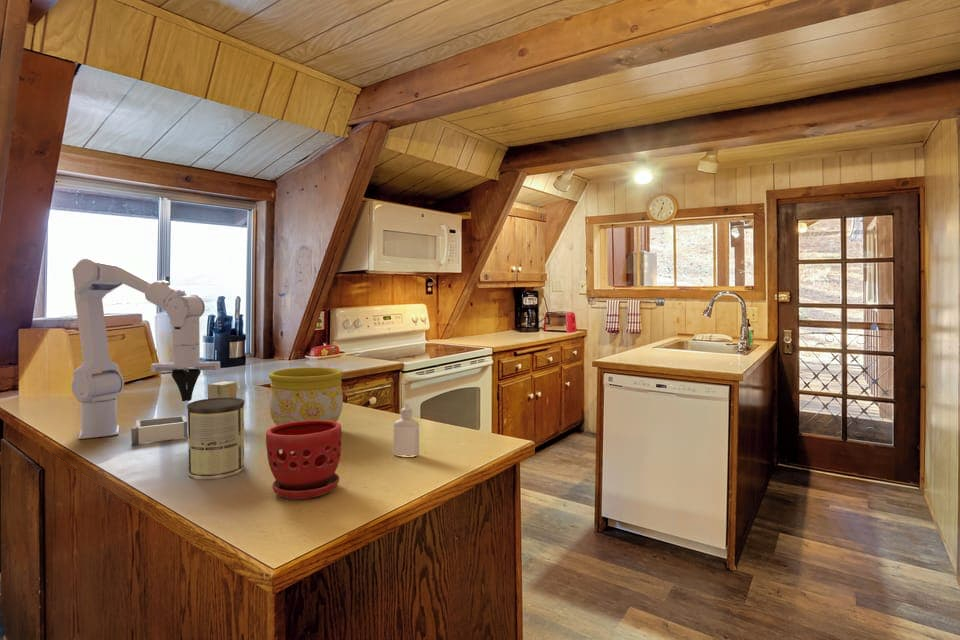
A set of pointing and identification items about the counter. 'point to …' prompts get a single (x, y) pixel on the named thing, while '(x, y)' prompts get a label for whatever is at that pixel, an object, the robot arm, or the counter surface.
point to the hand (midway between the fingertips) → (186, 400)
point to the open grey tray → (163, 422)
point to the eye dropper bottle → (406, 434)
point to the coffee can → (216, 437)
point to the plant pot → (304, 457)
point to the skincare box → (222, 390)
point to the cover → (157, 433)
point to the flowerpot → (305, 394)
